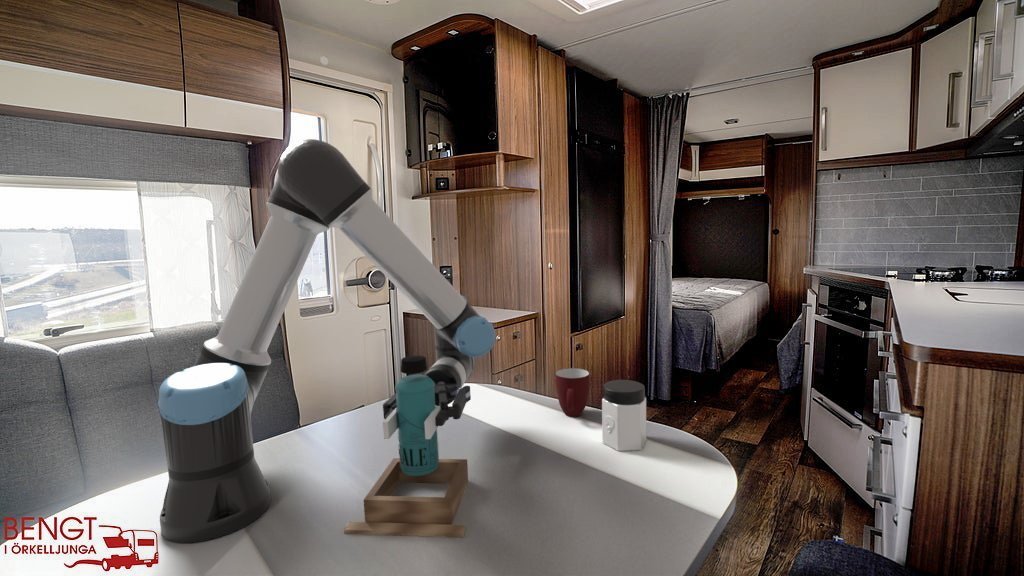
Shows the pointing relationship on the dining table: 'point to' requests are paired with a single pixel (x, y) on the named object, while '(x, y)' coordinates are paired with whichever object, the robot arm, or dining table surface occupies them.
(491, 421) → the dining table surface
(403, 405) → the beverage bottle
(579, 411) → the mug
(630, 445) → the jar
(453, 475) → the square wooden frame
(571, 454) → the dining table surface
